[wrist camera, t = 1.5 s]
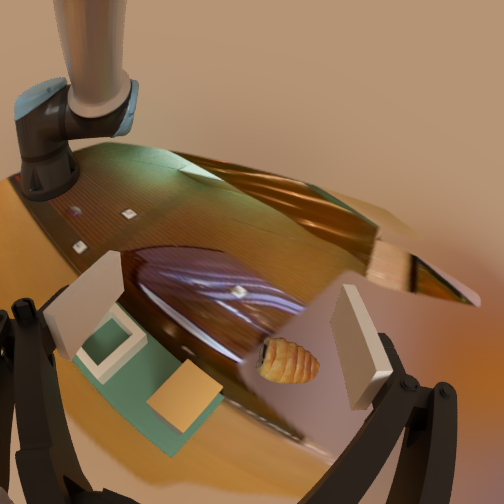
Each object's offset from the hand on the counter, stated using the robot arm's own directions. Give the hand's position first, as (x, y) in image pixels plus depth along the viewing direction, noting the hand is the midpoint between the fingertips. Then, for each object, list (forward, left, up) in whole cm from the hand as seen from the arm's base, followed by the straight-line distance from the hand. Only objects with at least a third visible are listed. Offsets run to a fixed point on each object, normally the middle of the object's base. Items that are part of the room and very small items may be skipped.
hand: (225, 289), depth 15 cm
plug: (+2, -4, -23) cm, 23 cm away
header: (-11, -4, -23) cm, 26 cm away
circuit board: (-5, -4, -24) cm, 25 cm away
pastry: (+8, +11, -24) cm, 28 cm away
